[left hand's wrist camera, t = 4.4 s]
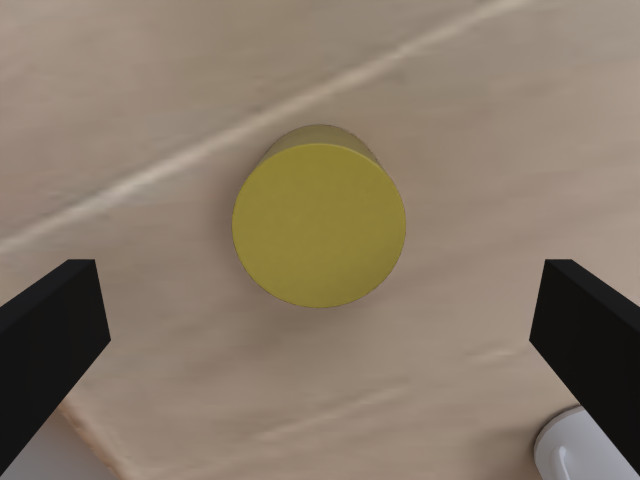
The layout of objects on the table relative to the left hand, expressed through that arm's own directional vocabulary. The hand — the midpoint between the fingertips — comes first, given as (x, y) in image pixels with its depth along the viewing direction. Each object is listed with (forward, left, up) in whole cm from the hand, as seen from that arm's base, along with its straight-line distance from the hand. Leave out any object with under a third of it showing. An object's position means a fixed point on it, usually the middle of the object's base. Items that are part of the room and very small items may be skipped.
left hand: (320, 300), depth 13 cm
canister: (0, 0, -14) cm, 14 cm away
